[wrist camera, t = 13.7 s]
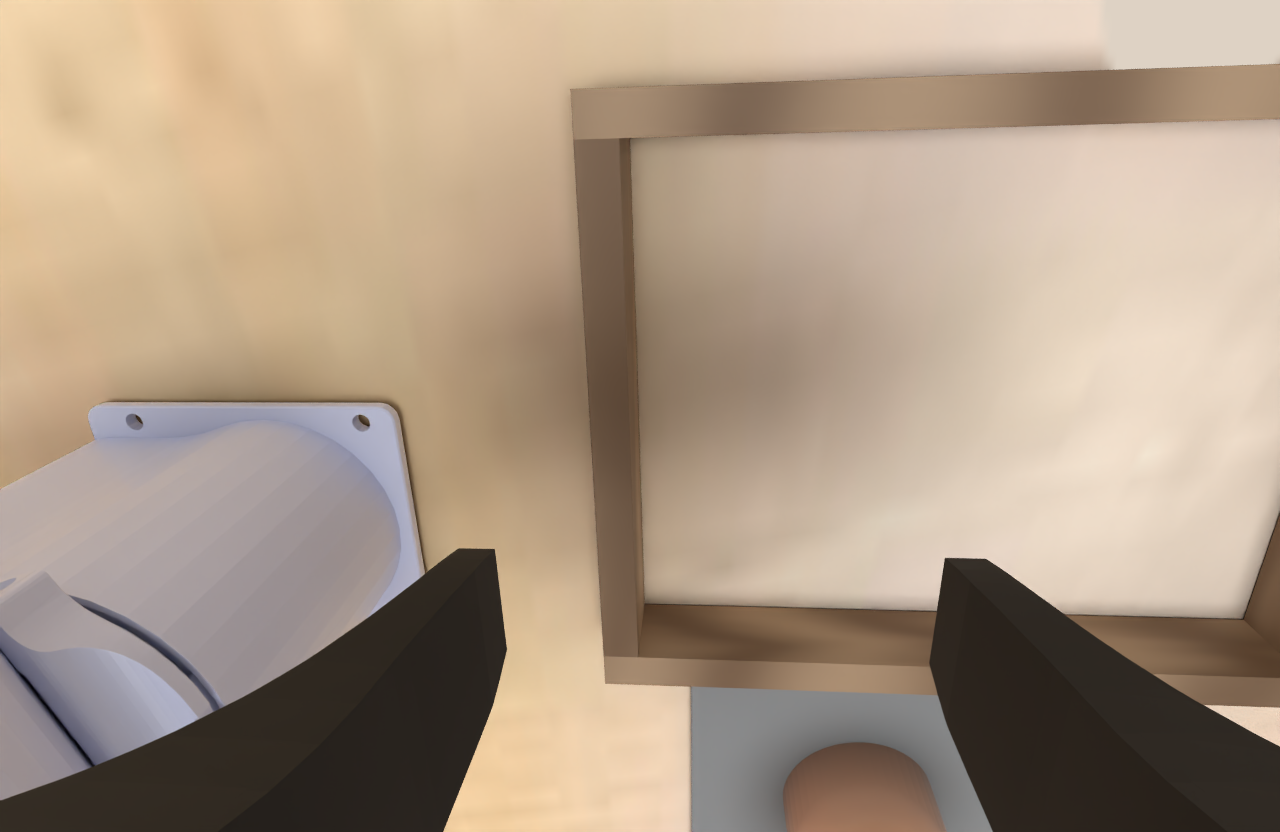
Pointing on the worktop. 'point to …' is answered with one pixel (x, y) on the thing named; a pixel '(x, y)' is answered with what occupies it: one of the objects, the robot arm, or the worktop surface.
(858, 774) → the terracotta pot
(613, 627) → the cold frame
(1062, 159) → the worktop surface
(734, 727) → the potting mat
